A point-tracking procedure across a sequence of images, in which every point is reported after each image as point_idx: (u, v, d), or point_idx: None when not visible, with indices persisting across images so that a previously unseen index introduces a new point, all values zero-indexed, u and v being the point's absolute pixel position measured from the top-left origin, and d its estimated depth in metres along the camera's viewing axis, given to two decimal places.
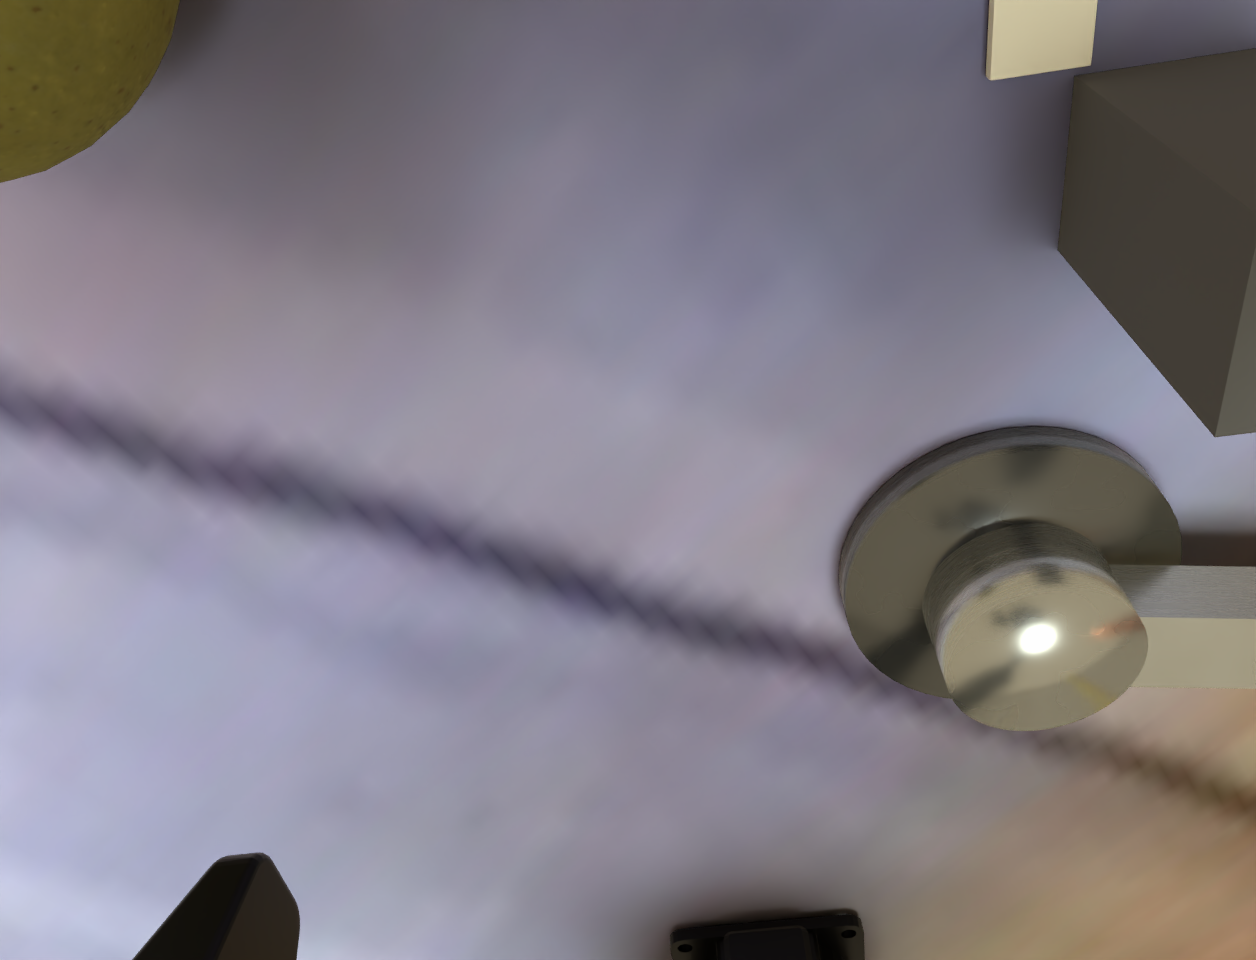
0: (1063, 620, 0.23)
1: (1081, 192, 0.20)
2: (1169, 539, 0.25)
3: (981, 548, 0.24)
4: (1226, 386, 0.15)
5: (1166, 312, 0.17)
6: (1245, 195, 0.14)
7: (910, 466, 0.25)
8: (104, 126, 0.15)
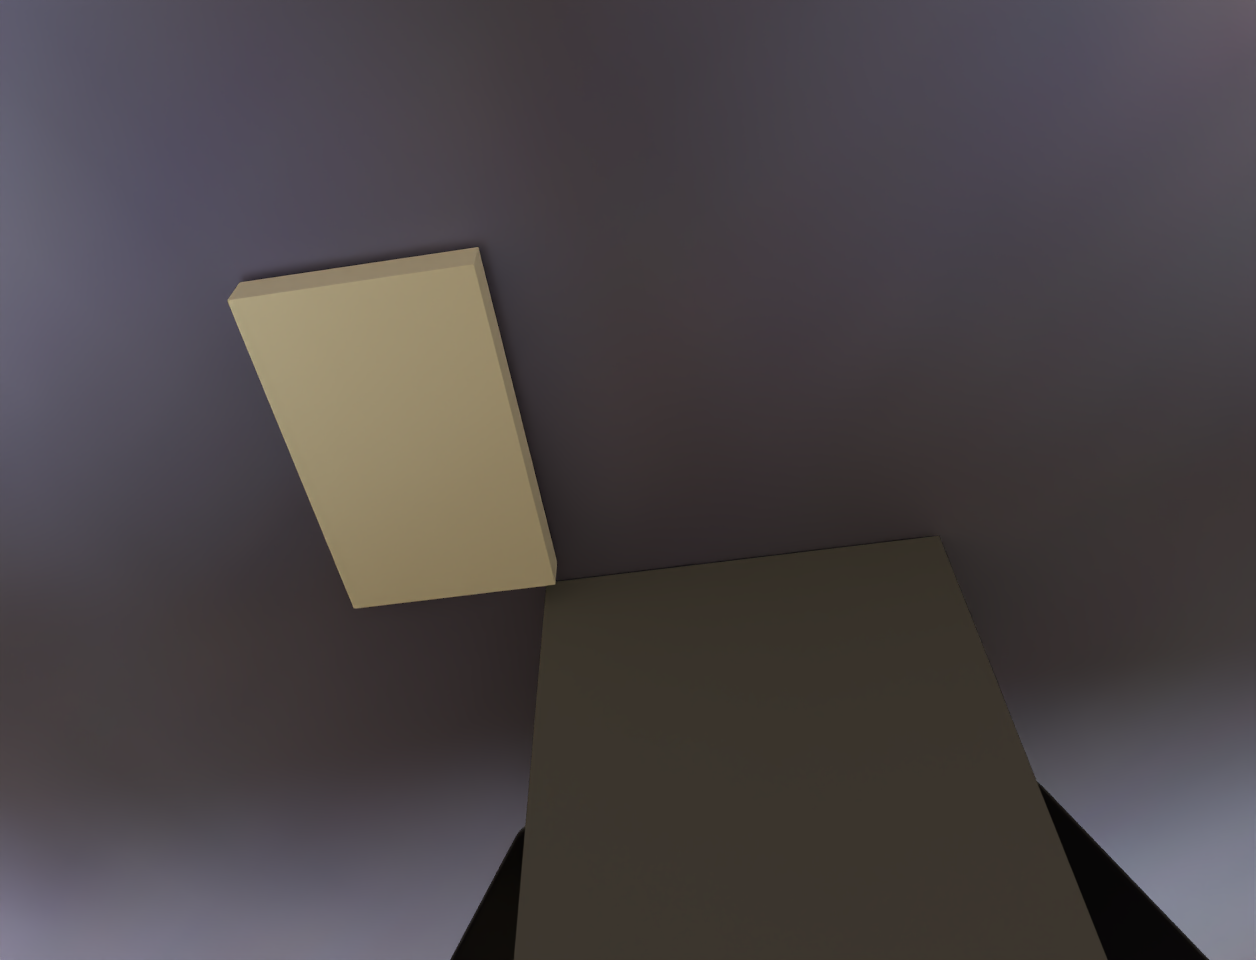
0: None
1: None
2: None
3: None
4: None
5: None
6: None
7: None
8: None
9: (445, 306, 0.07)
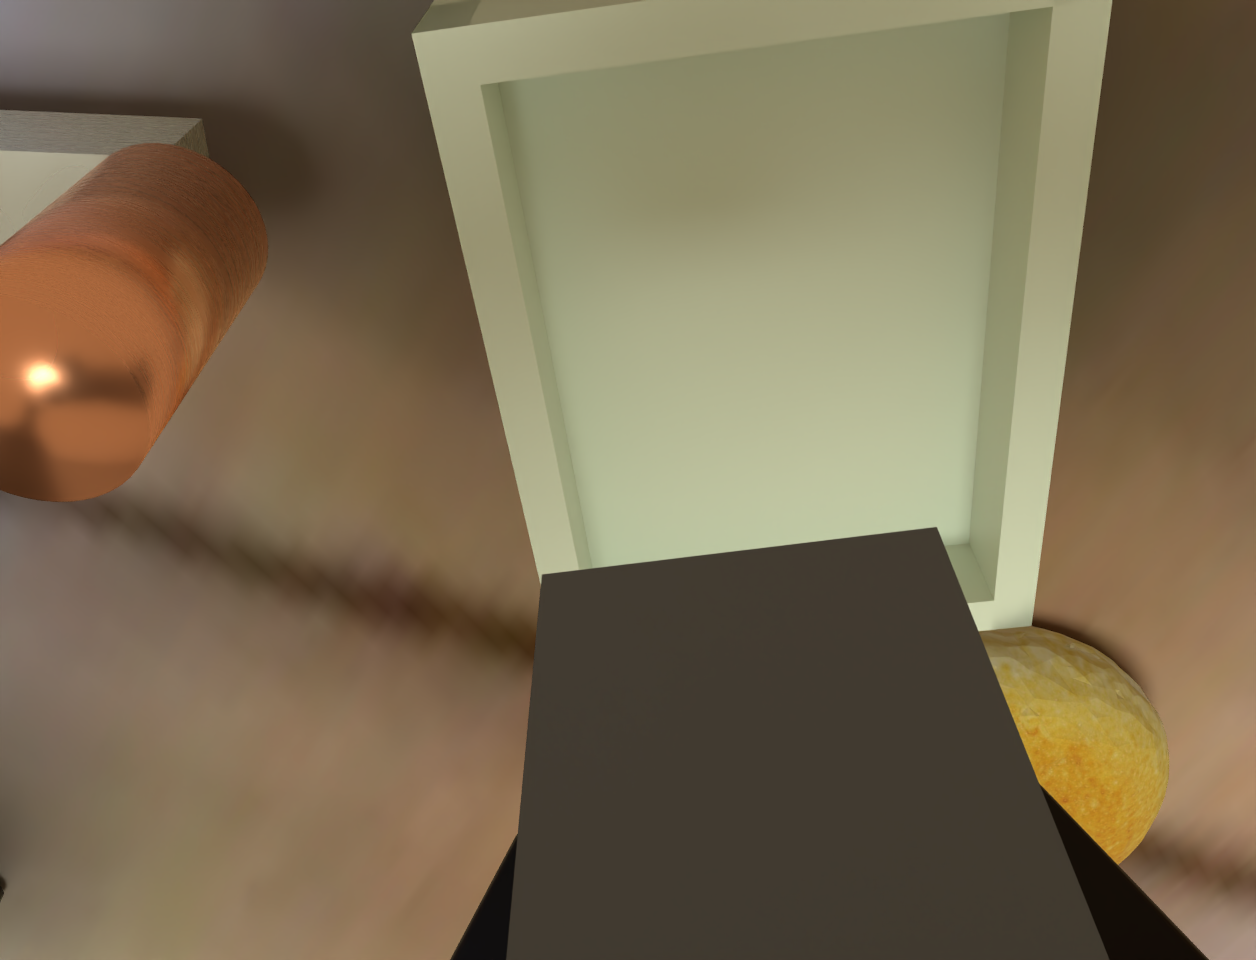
0: None
1: None
2: None
3: None
4: None
5: None
6: None
7: None
8: None
9: None
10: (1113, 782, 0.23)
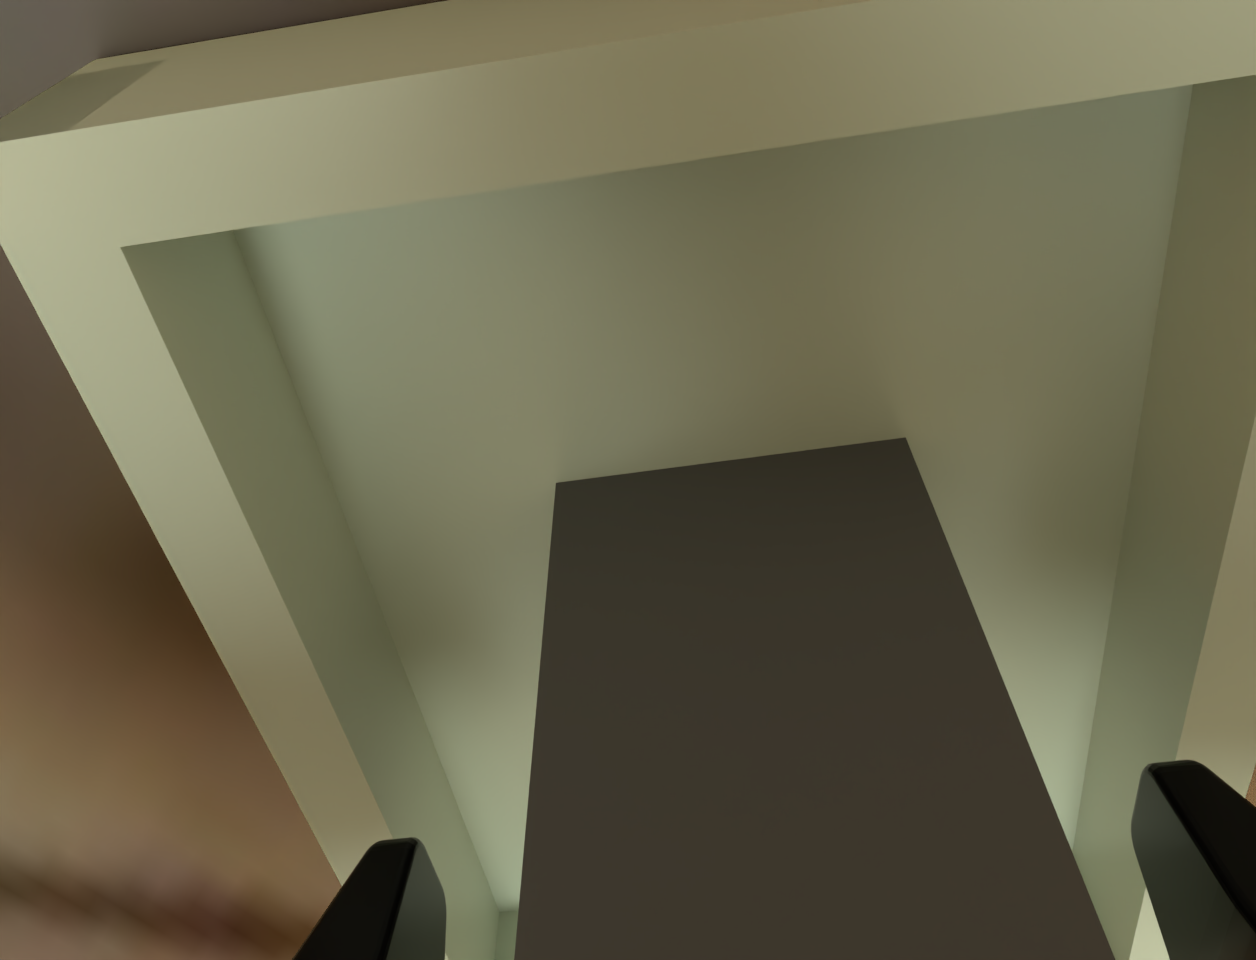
0: None
1: None
2: None
3: None
4: None
5: None
6: None
7: None
8: None
9: None
10: None
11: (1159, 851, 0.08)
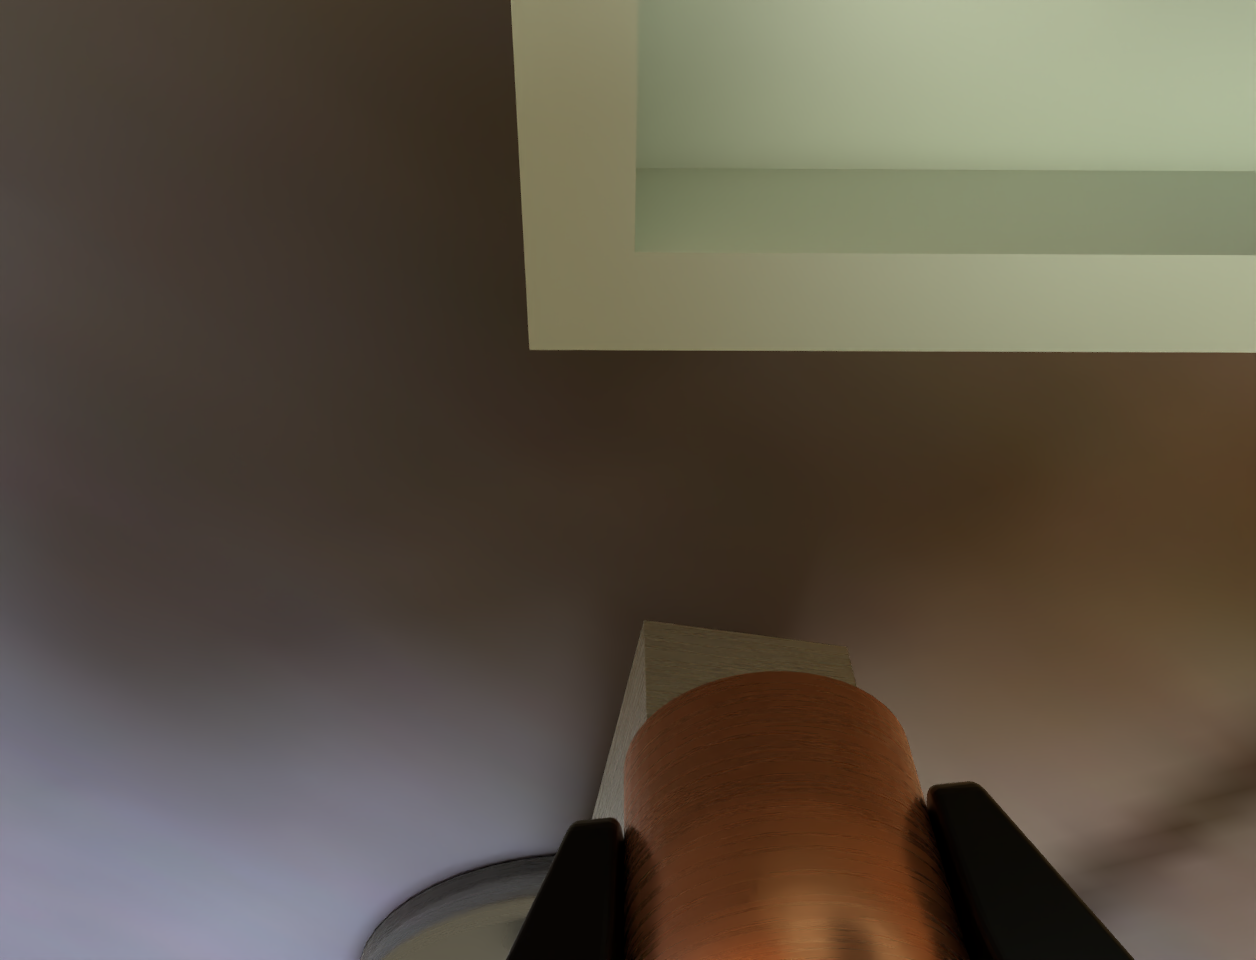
0: None
1: None
2: None
3: None
4: None
5: None
6: None
7: None
8: None
9: None
10: None
11: None
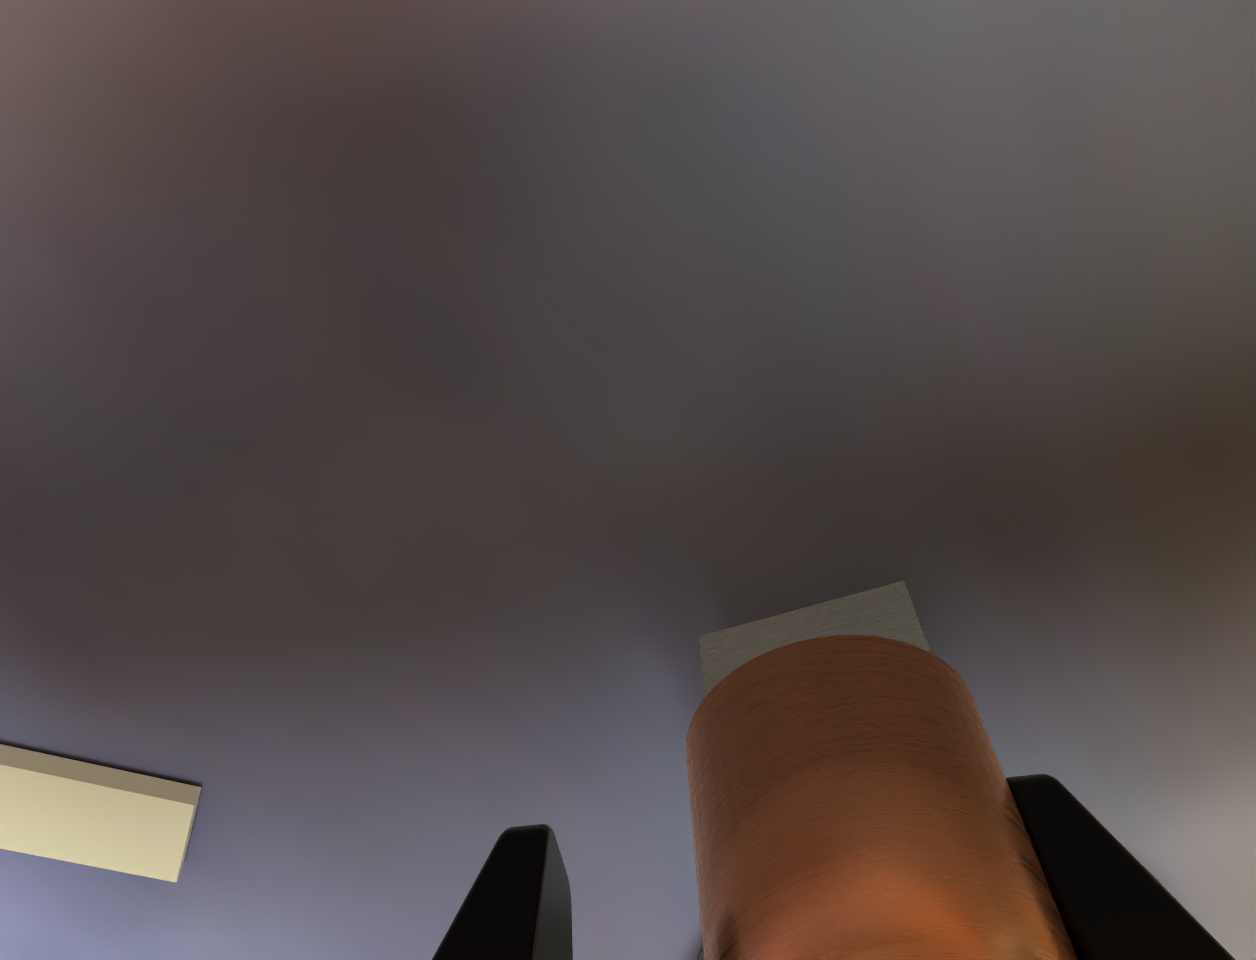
0: None
1: None
2: None
3: None
4: None
5: None
6: None
7: None
8: None
9: None
10: None
11: None
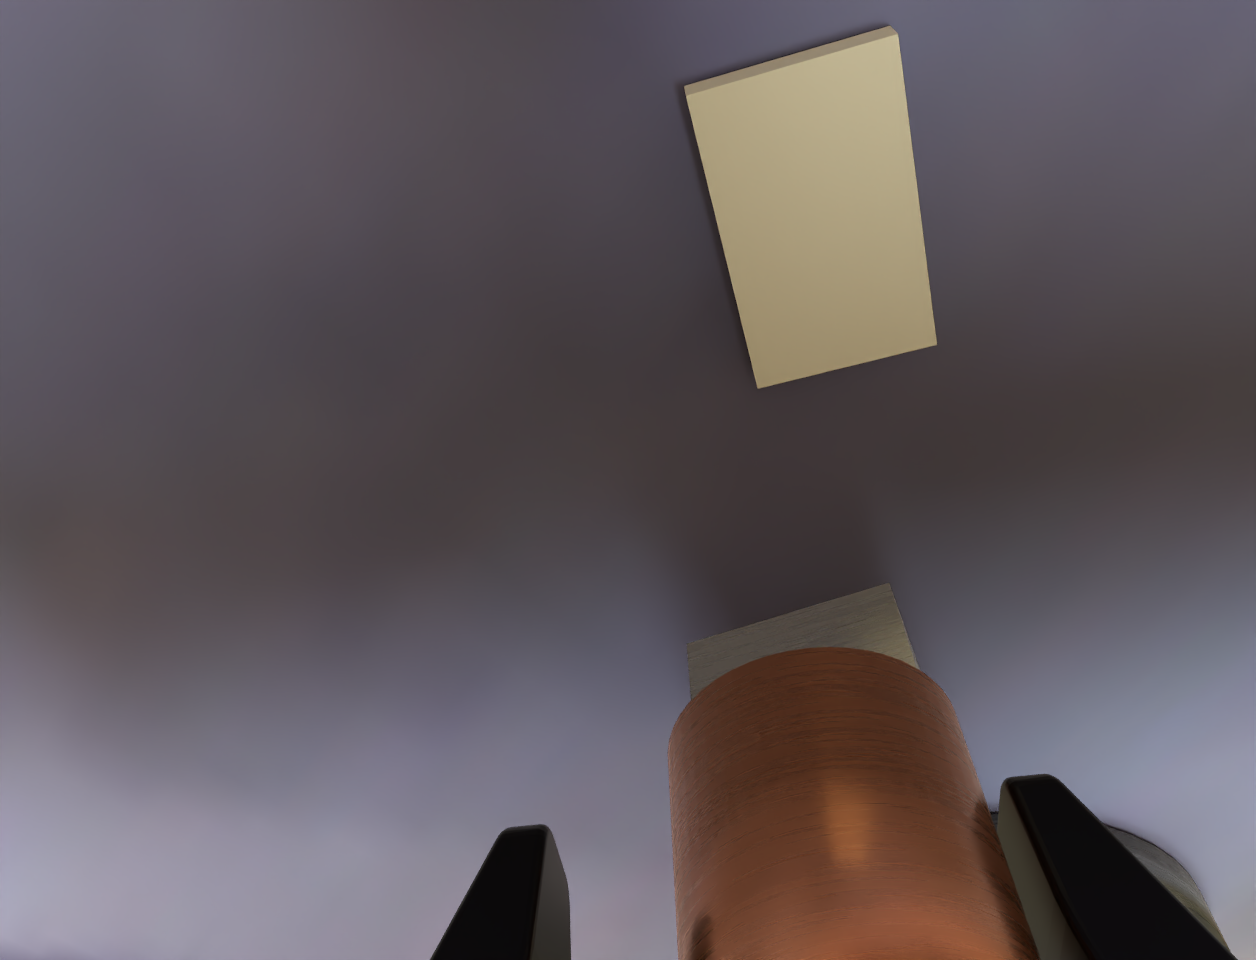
0: None
1: None
2: None
3: None
4: None
5: None
6: None
7: None
8: None
9: (868, 77, 0.09)
10: None
11: (1016, 864, 0.09)
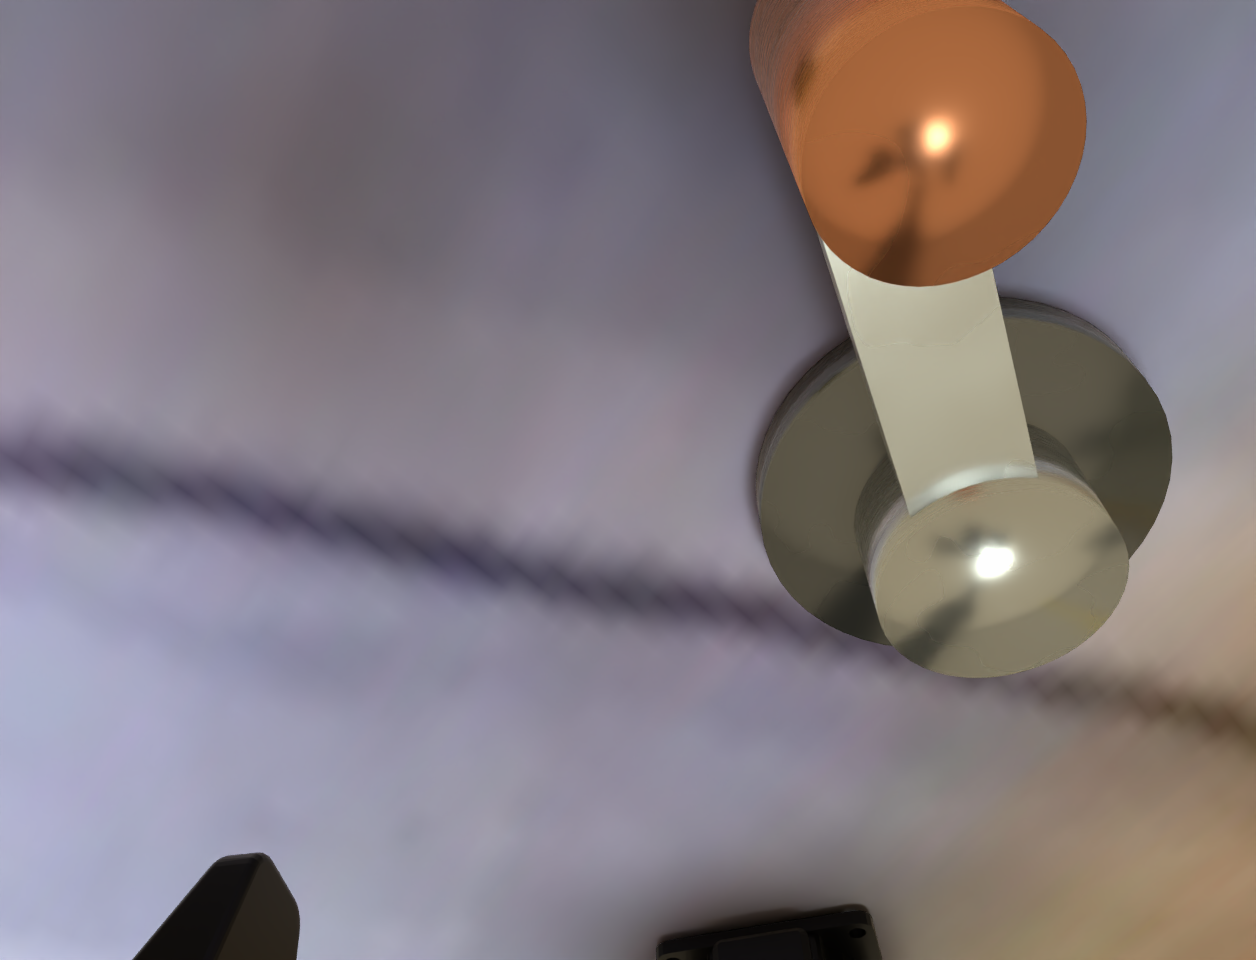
0: (926, 611, 0.19)
1: None
2: (1151, 423, 0.20)
3: None
4: None
5: None
6: None
7: (816, 366, 0.20)
8: None
9: None
10: None
11: None
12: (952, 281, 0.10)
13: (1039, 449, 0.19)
